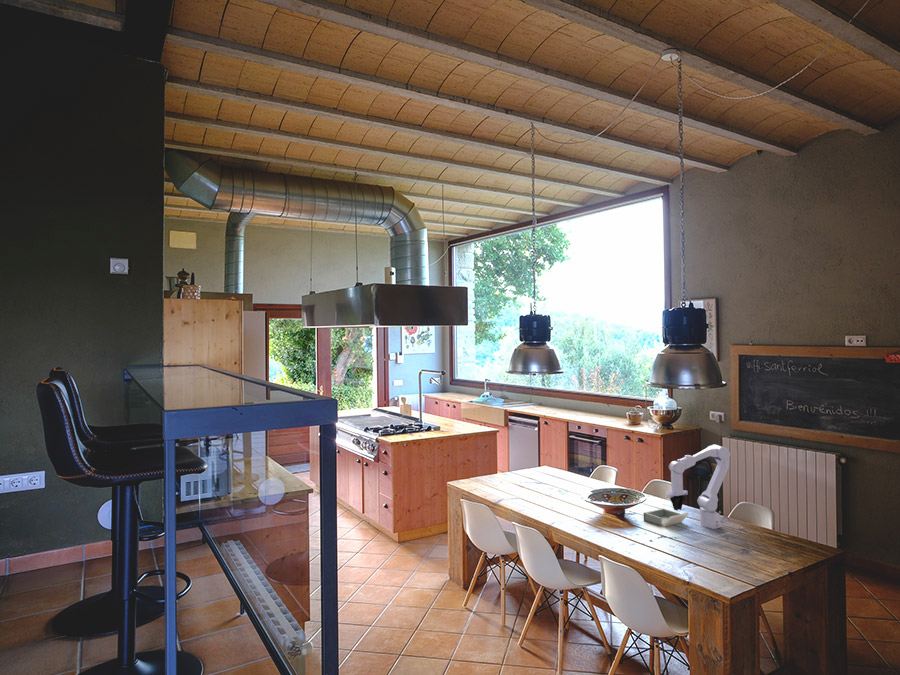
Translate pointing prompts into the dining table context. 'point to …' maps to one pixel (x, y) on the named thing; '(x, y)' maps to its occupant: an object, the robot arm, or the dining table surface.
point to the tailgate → (675, 519)
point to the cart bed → (658, 516)
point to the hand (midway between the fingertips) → (677, 509)
